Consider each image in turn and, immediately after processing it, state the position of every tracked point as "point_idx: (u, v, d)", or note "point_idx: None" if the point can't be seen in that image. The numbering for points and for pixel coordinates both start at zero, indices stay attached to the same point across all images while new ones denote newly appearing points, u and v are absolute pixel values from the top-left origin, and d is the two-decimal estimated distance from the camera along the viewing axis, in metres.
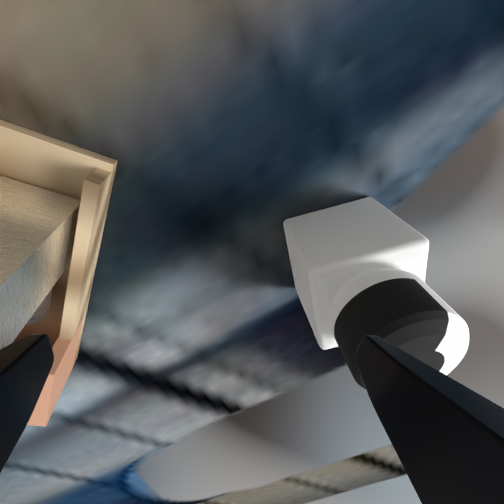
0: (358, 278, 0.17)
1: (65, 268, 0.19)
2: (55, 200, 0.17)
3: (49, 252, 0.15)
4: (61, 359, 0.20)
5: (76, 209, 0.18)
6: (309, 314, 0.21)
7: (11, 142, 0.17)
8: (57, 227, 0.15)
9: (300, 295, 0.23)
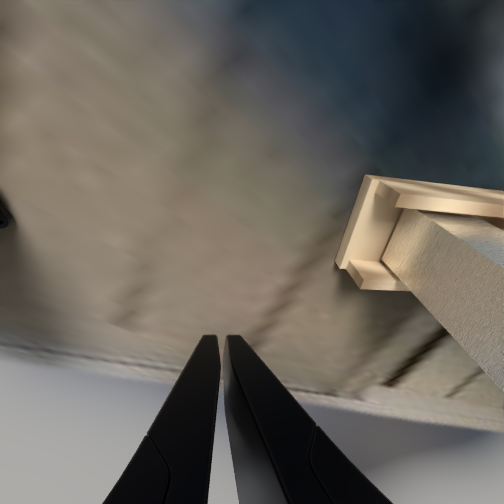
0: None
1: (479, 218, 0.19)
2: (407, 226, 0.19)
3: (473, 237, 0.16)
4: None
5: (418, 210, 0.18)
6: None
7: (355, 252, 0.21)
8: (445, 229, 0.16)
9: None
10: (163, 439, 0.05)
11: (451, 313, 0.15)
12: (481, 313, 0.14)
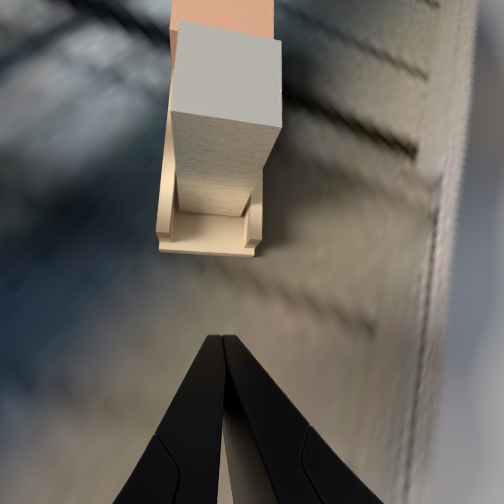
0: None
1: None
2: (196, 207, 0.20)
3: None
4: (171, 46, 0.20)
5: (179, 203, 0.20)
6: None
7: (234, 244, 0.22)
8: (177, 188, 0.18)
9: None
10: (171, 439, 0.05)
11: (243, 171, 0.15)
12: (223, 155, 0.14)
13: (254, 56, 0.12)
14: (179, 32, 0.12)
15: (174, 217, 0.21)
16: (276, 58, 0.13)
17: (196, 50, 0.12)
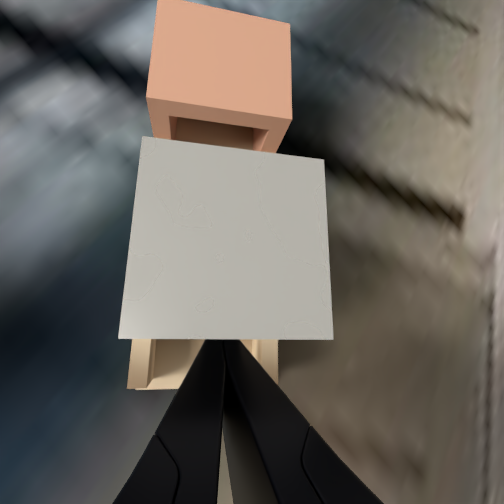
0: None
1: None
2: None
3: None
4: (150, 115, 0.14)
5: None
6: None
7: None
8: None
9: None
10: (171, 439, 0.05)
11: None
12: None
13: (279, 195, 0.07)
14: (141, 163, 0.06)
15: (157, 340, 0.16)
16: (318, 194, 0.07)
17: (173, 196, 0.06)
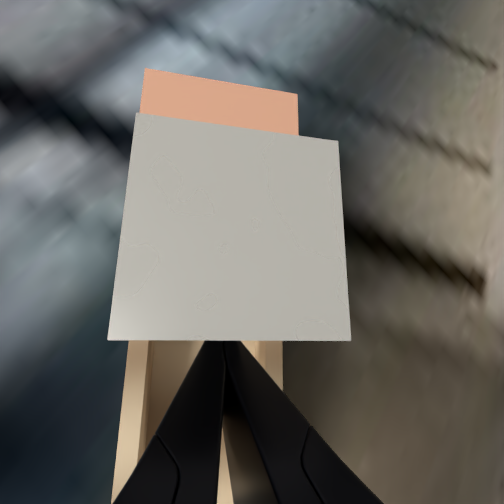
0: None
1: None
2: None
3: None
4: None
5: None
6: None
7: None
8: None
9: None
10: (171, 438, 0.05)
11: None
12: None
13: (289, 180, 0.06)
14: (135, 142, 0.06)
15: None
16: (331, 179, 0.06)
17: (171, 179, 0.06)
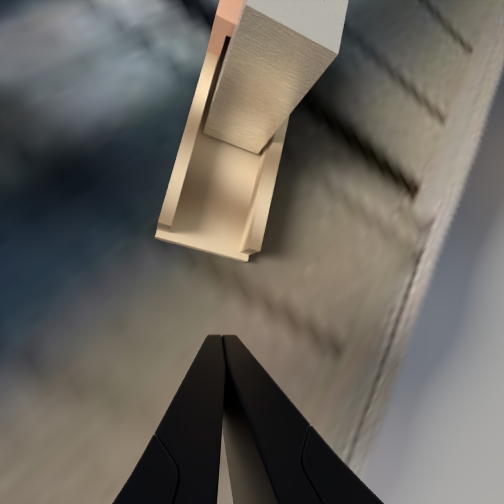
0: None
1: None
2: (221, 132, 0.21)
3: (219, 79, 0.18)
4: (212, 31, 0.19)
5: (205, 123, 0.21)
6: None
7: (231, 246, 0.22)
8: (212, 102, 0.18)
9: None
10: (171, 438, 0.05)
11: (283, 97, 0.16)
12: (272, 74, 0.15)
13: None
14: None
15: (176, 207, 0.21)
16: None
17: None
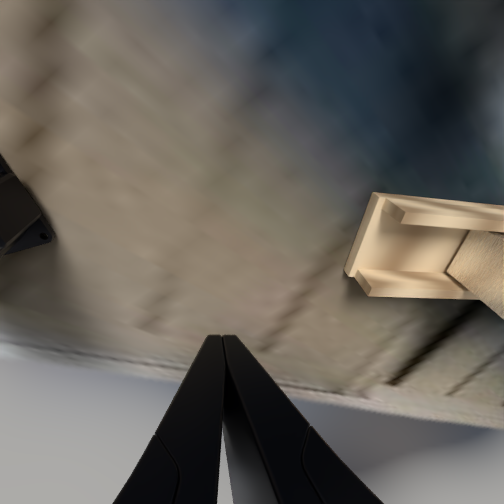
0: None
1: None
2: (476, 244, 0.22)
3: None
4: None
5: None
6: None
7: (363, 261, 0.23)
8: None
9: None
10: (171, 438, 0.05)
11: None
12: None
13: None
14: None
15: None
16: None
17: None
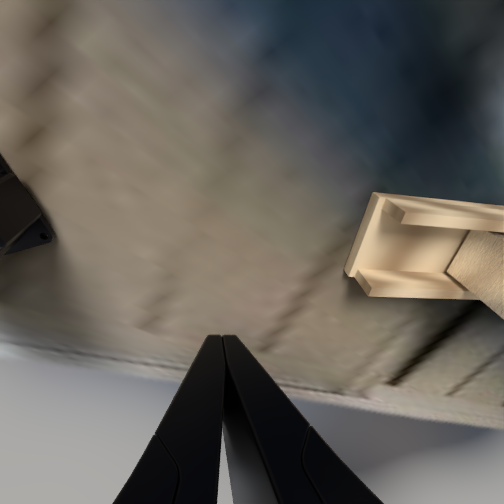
0: None
1: None
2: (476, 244, 0.22)
3: None
4: None
5: None
6: None
7: (363, 262, 0.23)
8: None
9: None
10: (171, 439, 0.05)
11: None
12: None
13: None
14: None
15: None
16: None
17: None
